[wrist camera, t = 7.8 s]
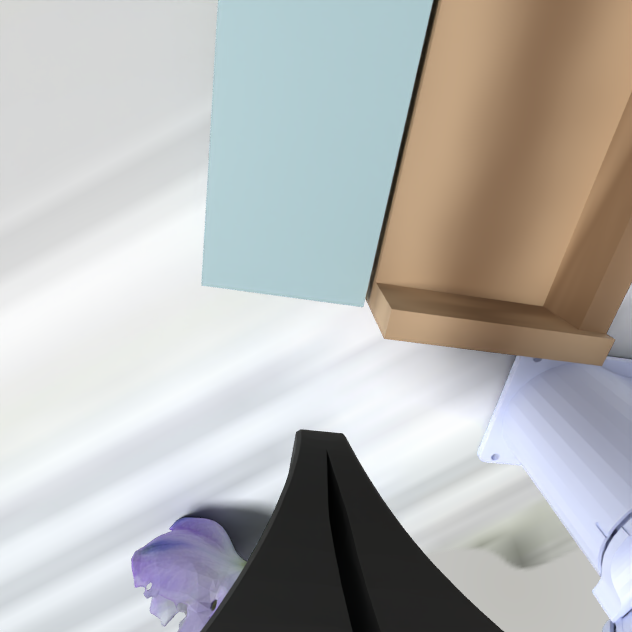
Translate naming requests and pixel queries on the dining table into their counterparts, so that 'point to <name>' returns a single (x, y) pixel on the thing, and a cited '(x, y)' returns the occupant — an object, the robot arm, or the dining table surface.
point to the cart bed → (513, 182)
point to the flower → (187, 571)
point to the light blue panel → (306, 141)
